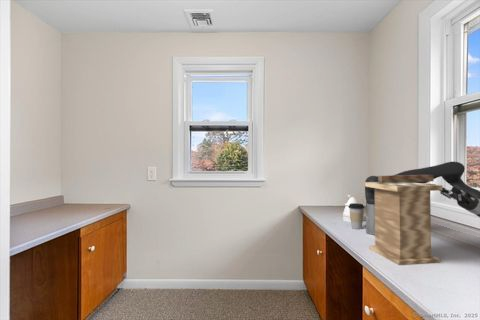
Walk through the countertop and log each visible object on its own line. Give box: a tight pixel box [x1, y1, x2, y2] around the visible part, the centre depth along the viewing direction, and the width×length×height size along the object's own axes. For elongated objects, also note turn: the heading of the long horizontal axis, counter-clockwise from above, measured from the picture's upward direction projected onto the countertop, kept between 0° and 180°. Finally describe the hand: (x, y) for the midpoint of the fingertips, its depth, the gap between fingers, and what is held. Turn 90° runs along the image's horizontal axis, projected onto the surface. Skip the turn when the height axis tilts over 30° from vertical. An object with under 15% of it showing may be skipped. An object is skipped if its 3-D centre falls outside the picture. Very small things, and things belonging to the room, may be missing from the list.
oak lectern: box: [364, 181, 443, 266], centre depth 132 cm, size 20×24×32 cm
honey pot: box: [342, 194, 364, 223], centre depth 206 cm, size 13×13×18 cm
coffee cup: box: [349, 202, 365, 230], centre depth 184 cm, size 9×9×15 cm
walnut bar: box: [377, 174, 435, 183], centre depth 139 cm, size 26×3×3 cm, turn 97°
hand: (444, 187), depth 141 cm, fingers open, 8 cm apart
